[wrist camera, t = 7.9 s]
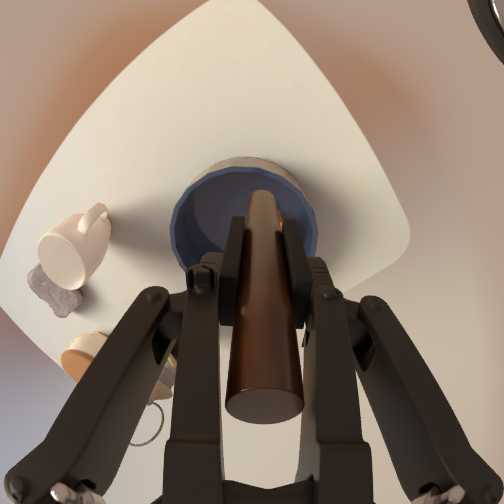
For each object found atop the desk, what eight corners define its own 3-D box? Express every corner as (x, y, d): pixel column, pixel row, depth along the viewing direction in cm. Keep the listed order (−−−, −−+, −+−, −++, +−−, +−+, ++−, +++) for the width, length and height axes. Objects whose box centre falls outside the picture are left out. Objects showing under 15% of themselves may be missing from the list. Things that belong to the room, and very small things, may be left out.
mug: (107, 258, 42) (73, 301, 32) (71, 225, 39) (30, 261, 29) (146, 207, 37) (110, 246, 27) (105, 169, 35) (58, 196, 25)
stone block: (54, 242, 42) (31, 271, 44) (43, 253, 38) (20, 282, 39) (95, 288, 47) (69, 312, 49) (87, 302, 43) (61, 326, 44)
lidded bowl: (68, 324, 50) (45, 359, 41) (109, 319, 48) (86, 361, 39) (97, 363, 56) (81, 398, 46) (138, 362, 54) (123, 403, 45)
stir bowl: (316, 161, 34) (326, 172, 28) (301, 277, 42) (306, 302, 37) (179, 156, 34) (165, 166, 29) (186, 271, 42) (177, 295, 37)
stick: (277, 190, 23) (312, 387, 7) (275, 217, 24) (297, 424, 8) (247, 188, 23) (223, 385, 7) (246, 216, 24) (225, 422, 8)
